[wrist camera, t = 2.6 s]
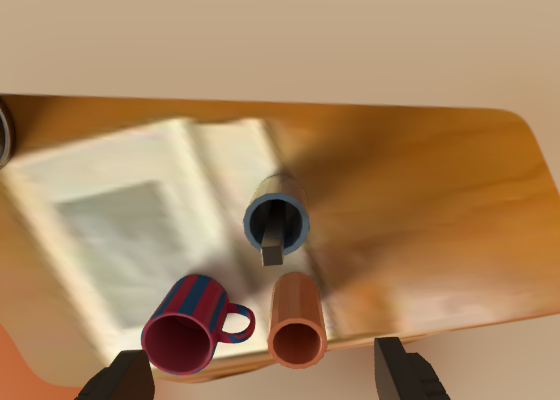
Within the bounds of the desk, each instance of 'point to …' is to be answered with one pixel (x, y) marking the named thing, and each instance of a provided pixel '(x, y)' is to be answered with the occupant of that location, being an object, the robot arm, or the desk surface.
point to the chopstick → (274, 234)
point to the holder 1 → (295, 212)
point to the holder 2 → (296, 322)
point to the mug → (191, 326)
